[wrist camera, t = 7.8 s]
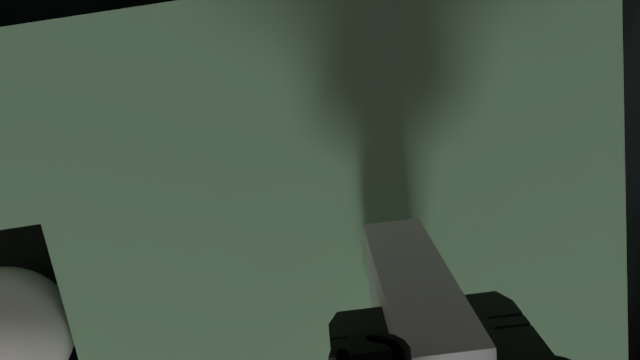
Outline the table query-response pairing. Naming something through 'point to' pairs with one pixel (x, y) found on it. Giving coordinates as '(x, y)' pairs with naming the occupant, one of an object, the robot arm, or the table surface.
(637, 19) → the table surface
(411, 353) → the robot arm
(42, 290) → the ball
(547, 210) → the putting mat
